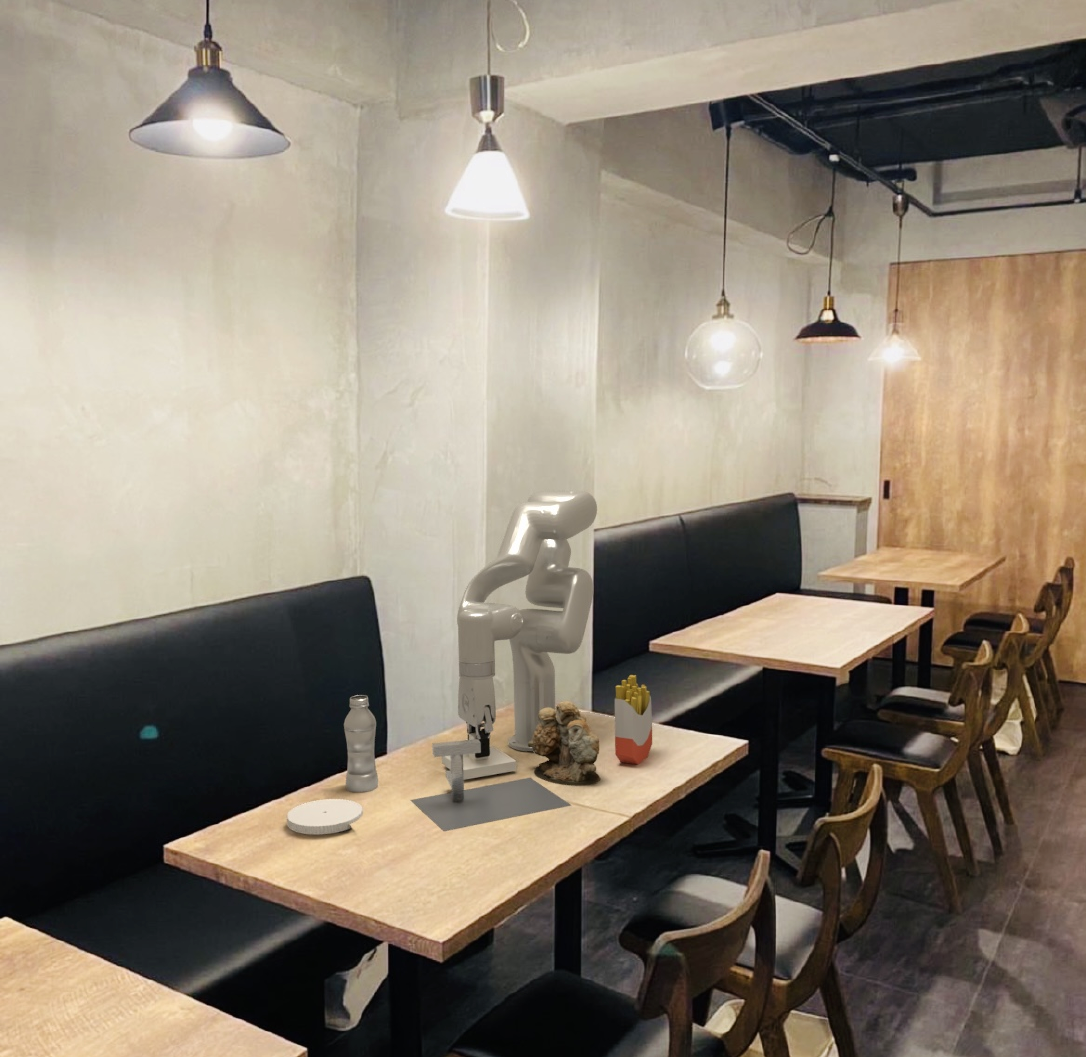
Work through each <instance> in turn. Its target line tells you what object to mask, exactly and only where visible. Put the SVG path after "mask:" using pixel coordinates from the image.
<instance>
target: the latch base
mask: <svg viewBox="0 0 1086 1057" xmlns="http://www.w3.org/2000/svg"><path fill="white" fill-rule="evenodd" d="M410 801H411V803H412V804H414V806H415V807H417V808H418V809H419V810H421V812H422V813H423V814H424V815H425V816H426V817H428V818H429V819H430V820H431V821H432V822H433V823H434V824H436V825H437V826H438V828H439V829H440V830H442V831H443V832H448V831H453V830H457V829H464V828H468V827H473V826H478V825H483V824H487V823H493V822H496V821H501V820H506V819H511V818H516V817H517V818H518V817H521V816H527V815H530V814H536V813H540V812H541V813H542V812H547V811H552V810H555V809H560V808H565V807H572V805H571V803H569V802H567V801H566V800H565V799H564V798H561V797H560V796H559V795H557V794H555V793H554V792H553V791H552V790H550V789H548V788H547V787H545V786H543V785H542V784H540V783H539V782H537V781H536V780H535V779H533V778H531V777H526V778H522V779H516V780H510V781H506V782H505V781H504V782H500V783H494V784H488V785H484V786H478V787H473V788H468V789H467V788H466V789H464V800H463V801H453V800H452V791H451V792H446V793H445V792H444V793H440V794H435V795H431V796H426V797H419V798H413V799H410Z"/></svg>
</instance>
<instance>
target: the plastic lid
mask: <svg viewBox="0 0 1086 1057" xmlns="http://www.w3.org/2000/svg"><path fill="white" fill-rule="evenodd" d="M363 809H364V808H363V806H362V805H361V804H360V803H359V802H356V801H354V800H351V799H349V800H348V799H344V798H343V799H342V798H327V799H318V800H313V801H308V802H305V803H302V804H299V805H296V806H295V807H293V808H291V809H290V810H289V811H288V812H287V814H286V824H287V827H288V829H290V830H291V831H293V832H296V833H298V834H304V835H326V834H327V835H329V834H336V833H339V832H343V831H346V830H349V829H352V824H354V823H356V822H357V821H358V820H360V819H361V818H362V817H363V814H364V810H363Z"/></svg>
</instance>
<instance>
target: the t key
mask: <svg viewBox="0 0 1086 1057" xmlns="http://www.w3.org/2000/svg"><path fill="white" fill-rule="evenodd" d="M431 745H432V746H431V747H432V749H431V750H432V755H433V757H434V758H442V756H451V770H450V769H449V770H445V778H446V780H447V782H448V784H449V787H450V788H451V792H452V800H453V801H463V800H464V790H465V785H464V784H465V780H464V773H463V754H473V753H481V743H480V741H479V740H478V739H473V740H468V739H465V740H455V741H454V740H453V741H445V742H435V743H434V742H433V743H432V744H431Z"/></svg>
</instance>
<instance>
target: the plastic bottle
mask: <svg viewBox="0 0 1086 1057" xmlns="http://www.w3.org/2000/svg"><path fill="white" fill-rule="evenodd" d="M368 696H369V695H366V694H365V695H364V694H359V695H358V694H357V695H354V696H353V695H352V696H351V697H350V698H349V709H350V711H349V712H348V714H347V715H346V717H345V719H344V723H343V727H344V728H343V730H344V734H345V739H346V749H347V770H346V776H345V788H346V790H347V791H348V792H350V793H355V794H356V793H367V792H371V791H374V790H376V789H377V788H378V786H379V785H378V784H379V778H378V776H379V775H378V771H377V766H376V757H375V741H376V740H375V739H376V738H375V737H376V731H377V730H376V729H377V728H376V727H377V721H376V718H375V715H374V714H373V713H372V711H371V710H370V709H369V708H368V707H369V706H370V704H369V697H368Z"/></svg>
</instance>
